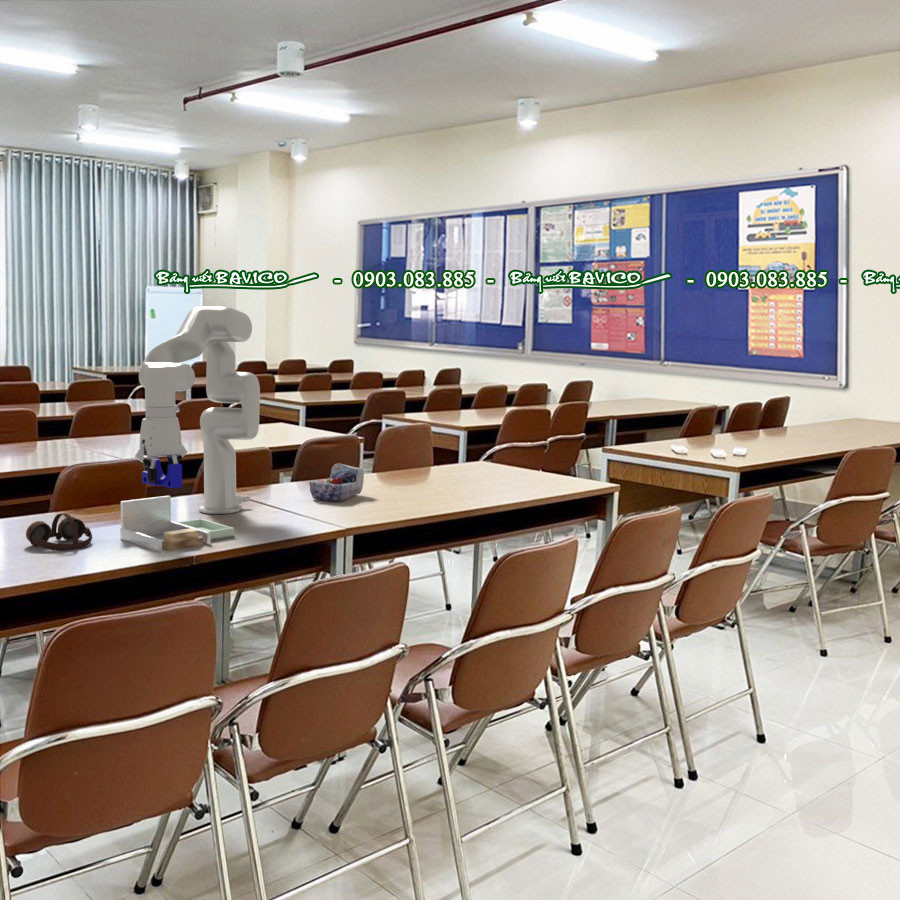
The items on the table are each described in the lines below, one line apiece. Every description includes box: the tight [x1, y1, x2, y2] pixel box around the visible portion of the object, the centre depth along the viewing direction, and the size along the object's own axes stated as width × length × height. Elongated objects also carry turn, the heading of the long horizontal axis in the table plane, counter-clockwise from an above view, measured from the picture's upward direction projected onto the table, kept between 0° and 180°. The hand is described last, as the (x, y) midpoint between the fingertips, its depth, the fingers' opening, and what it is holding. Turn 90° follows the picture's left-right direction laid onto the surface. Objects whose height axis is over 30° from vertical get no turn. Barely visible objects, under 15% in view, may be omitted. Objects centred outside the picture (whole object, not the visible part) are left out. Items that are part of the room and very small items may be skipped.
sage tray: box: [176, 518, 235, 542], centre depth 278 cm, size 9×17×2 cm, turn 45°
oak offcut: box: [163, 528, 199, 542], centre depth 263 cm, size 8×4×2 cm, turn 136°
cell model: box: [308, 463, 365, 503], centre depth 337 cm, size 13×11×20 cm
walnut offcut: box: [161, 537, 204, 552], centre depth 263 cm, size 10×4×2 cm, turn 137°
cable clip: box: [141, 458, 183, 489], centre depth 268 cm, size 12×4×6 cm, turn 47°
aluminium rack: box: [120, 495, 212, 553], centre depth 268 cm, size 15×21×10 cm
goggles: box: [25, 512, 93, 552], centre depth 261 cm, size 15×13×10 cm
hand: (162, 481), depth 268 cm, fingers closed on cable clip, 4 cm apart
